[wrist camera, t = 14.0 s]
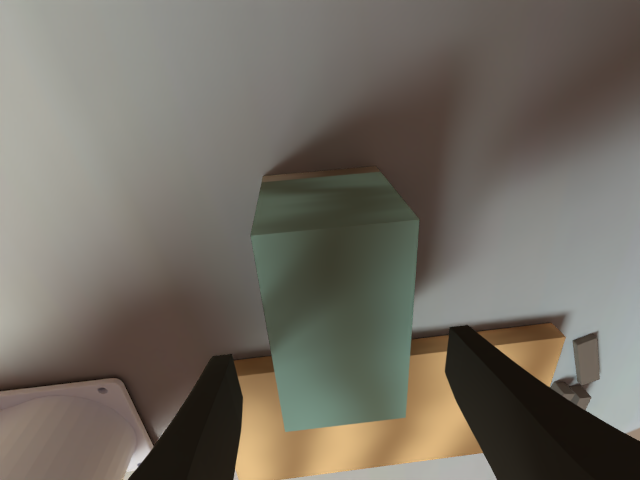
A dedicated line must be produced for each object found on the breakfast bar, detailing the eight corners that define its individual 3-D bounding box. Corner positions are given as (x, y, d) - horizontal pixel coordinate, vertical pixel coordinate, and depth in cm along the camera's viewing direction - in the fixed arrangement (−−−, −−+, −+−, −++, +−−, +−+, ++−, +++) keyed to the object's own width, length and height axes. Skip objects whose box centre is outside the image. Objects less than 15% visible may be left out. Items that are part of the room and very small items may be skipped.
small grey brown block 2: (561, 437, 25) (572, 436, 25) (579, 398, 23) (591, 397, 23) (550, 421, 26) (560, 420, 26) (566, 383, 24) (577, 382, 24)
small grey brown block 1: (599, 379, 23) (590, 369, 24) (596, 338, 21) (586, 328, 22) (581, 385, 23) (572, 376, 24) (577, 345, 21) (567, 336, 22)
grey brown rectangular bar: (538, 434, 24) (548, 434, 24) (564, 393, 23) (575, 394, 23) (527, 418, 25) (537, 418, 26) (551, 378, 24) (562, 379, 24)
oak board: (242, 466, 25) (240, 484, 24) (211, 363, 20) (207, 380, 19) (520, 430, 26) (530, 446, 24) (551, 322, 21) (565, 337, 20)
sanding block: (285, 331, 20) (285, 432, 14) (263, 175, 16) (250, 235, 10) (374, 321, 20) (405, 417, 15) (375, 165, 16) (419, 219, 10)
